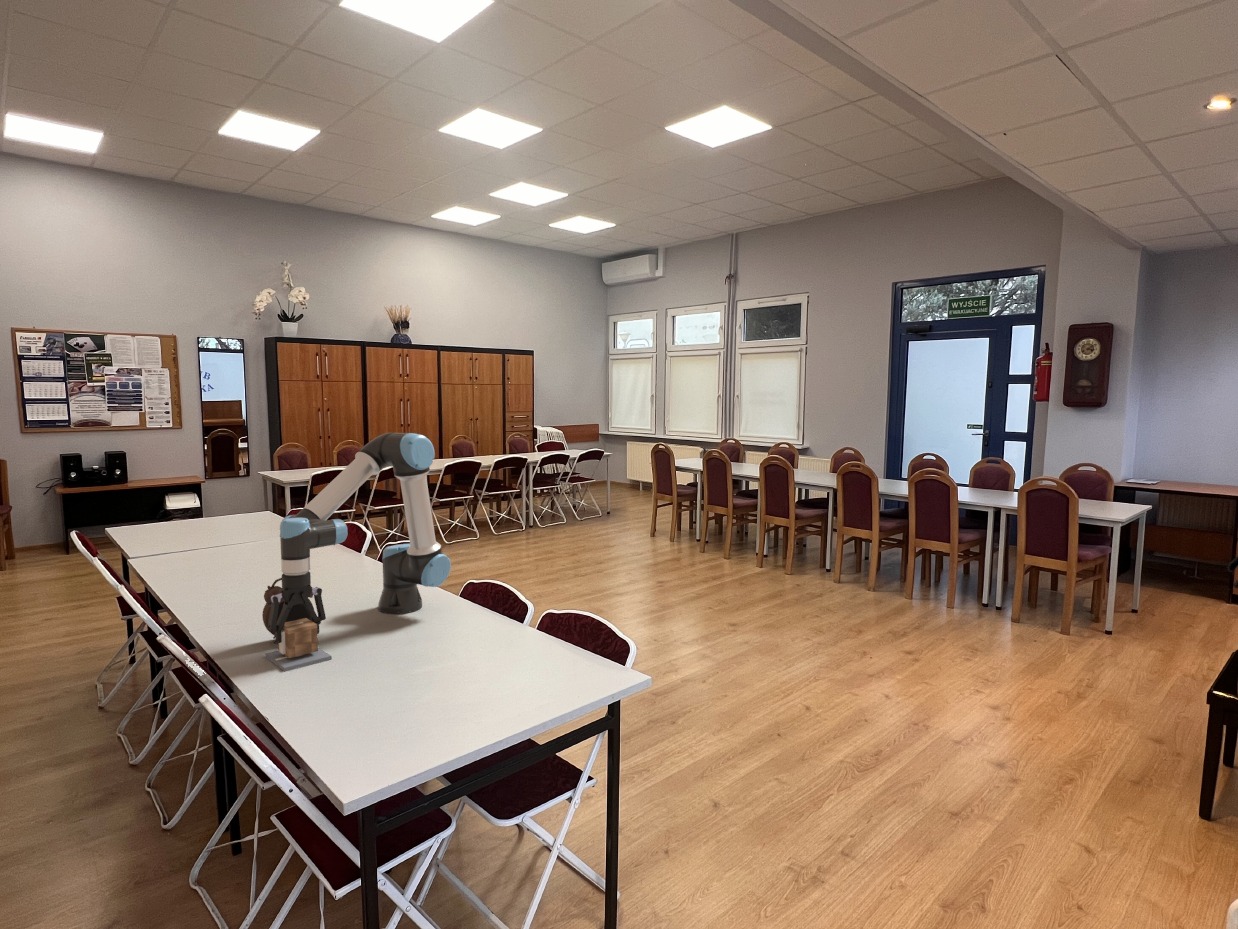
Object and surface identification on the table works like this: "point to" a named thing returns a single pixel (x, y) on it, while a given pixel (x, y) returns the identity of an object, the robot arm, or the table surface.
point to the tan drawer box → (300, 637)
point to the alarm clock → (294, 614)
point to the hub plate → (297, 659)
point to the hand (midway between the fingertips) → (298, 648)
